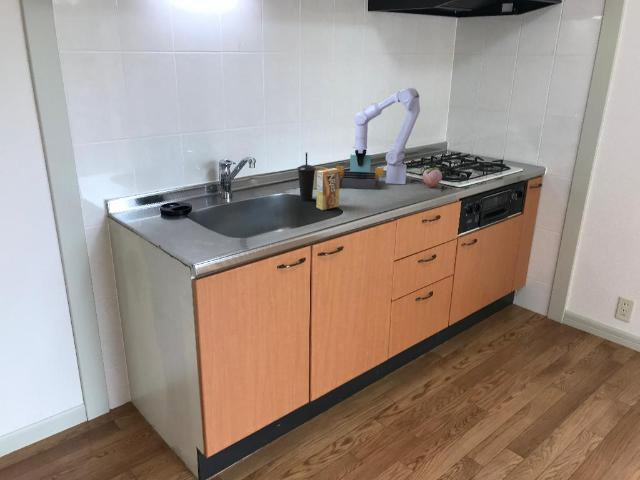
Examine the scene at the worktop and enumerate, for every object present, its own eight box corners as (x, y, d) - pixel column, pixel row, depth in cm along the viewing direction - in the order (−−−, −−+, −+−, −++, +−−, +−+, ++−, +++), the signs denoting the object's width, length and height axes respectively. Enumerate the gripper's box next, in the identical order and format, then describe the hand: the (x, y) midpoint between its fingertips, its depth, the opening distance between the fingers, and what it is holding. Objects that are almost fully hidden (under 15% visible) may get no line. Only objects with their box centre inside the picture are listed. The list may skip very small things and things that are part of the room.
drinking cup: (305, 196, 225) (305, 150, 218) (318, 199, 221) (319, 152, 213) (293, 199, 219) (293, 152, 212) (307, 203, 215) (307, 155, 208)
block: (370, 171, 258) (370, 155, 255) (370, 172, 256) (370, 156, 253) (350, 170, 259) (350, 154, 256) (349, 171, 256) (350, 155, 254)
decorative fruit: (428, 183, 248) (430, 163, 245) (443, 187, 243) (445, 166, 239) (417, 187, 242) (419, 166, 238) (432, 190, 237) (434, 169, 233)
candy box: (332, 204, 214) (333, 167, 209) (339, 206, 211) (340, 169, 206) (316, 208, 209) (316, 170, 203) (322, 210, 206) (323, 172, 200)
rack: (382, 181, 251) (383, 164, 248) (382, 189, 236) (383, 171, 233) (336, 180, 253) (337, 162, 250) (334, 188, 238) (334, 169, 235)
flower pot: (321, 191, 232) (321, 172, 229) (303, 188, 237) (303, 169, 234) (332, 187, 240) (332, 168, 237) (315, 184, 244) (315, 166, 241)
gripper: (353, 134, 258) (352, 161, 263) (352, 139, 245) (351, 168, 250) (367, 135, 258) (366, 162, 263) (367, 140, 244) (366, 168, 249)
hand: (360, 165), depth 256 cm, fingers closed on block, 2 cm apart
